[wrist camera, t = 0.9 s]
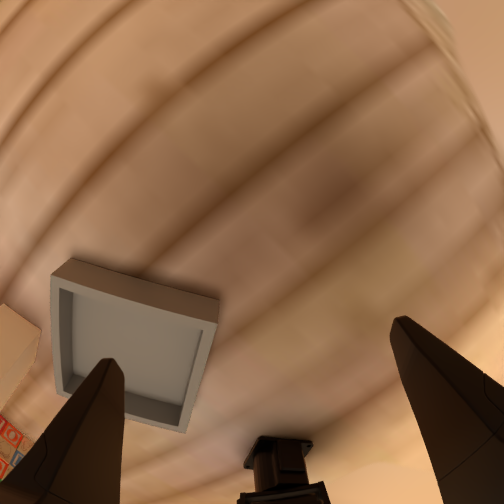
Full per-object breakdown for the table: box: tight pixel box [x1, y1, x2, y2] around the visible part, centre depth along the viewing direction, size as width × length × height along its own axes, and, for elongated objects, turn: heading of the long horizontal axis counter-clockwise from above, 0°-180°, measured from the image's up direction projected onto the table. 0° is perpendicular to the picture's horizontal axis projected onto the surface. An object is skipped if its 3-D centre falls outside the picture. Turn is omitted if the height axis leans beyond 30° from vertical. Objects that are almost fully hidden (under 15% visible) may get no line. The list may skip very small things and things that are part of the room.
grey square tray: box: [50, 258, 219, 434], centre depth 24 cm, size 13×13×4 cm
